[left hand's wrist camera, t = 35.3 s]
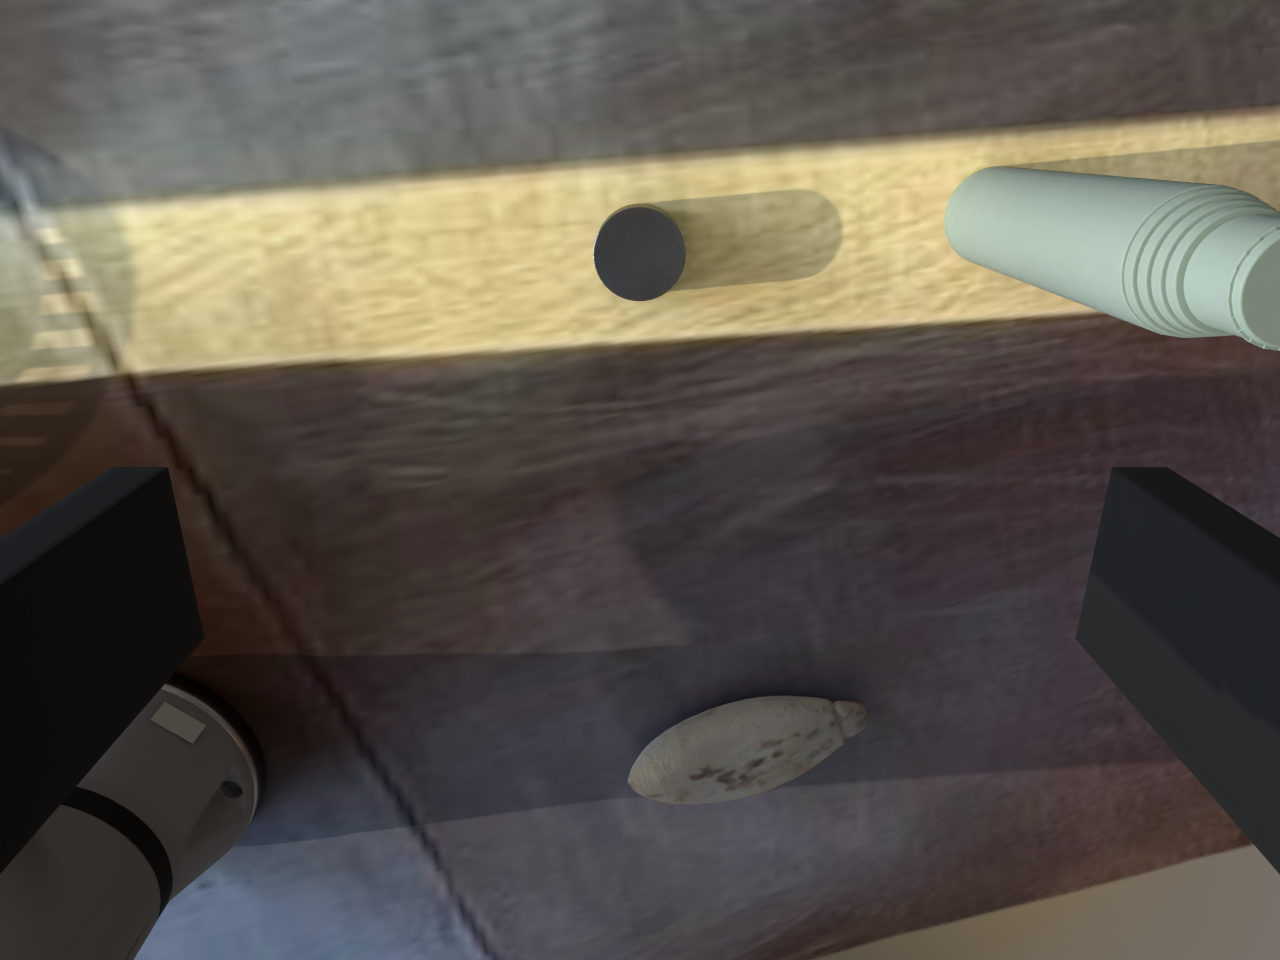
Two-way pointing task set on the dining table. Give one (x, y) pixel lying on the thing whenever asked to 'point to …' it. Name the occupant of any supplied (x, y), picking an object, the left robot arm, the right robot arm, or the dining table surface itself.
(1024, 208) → the bottle
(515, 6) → the dining table surface
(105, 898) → the left robot arm
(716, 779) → the decorative stone
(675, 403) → the dining table surface
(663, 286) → the cap
